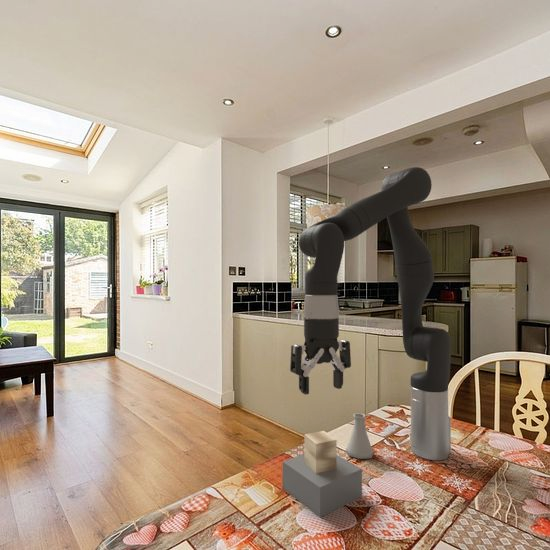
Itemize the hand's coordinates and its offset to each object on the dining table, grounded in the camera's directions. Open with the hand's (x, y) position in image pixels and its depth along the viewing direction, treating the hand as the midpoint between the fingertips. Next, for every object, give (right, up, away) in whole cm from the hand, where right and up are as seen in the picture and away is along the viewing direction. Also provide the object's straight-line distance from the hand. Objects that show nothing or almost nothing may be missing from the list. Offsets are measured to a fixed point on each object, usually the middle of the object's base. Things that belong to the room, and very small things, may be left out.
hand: (321, 390), depth 76 cm
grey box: (0, -22, -1) cm, 22 cm away
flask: (+12, -22, +17) cm, 31 cm away
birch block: (0, -16, -1) cm, 16 cm away
